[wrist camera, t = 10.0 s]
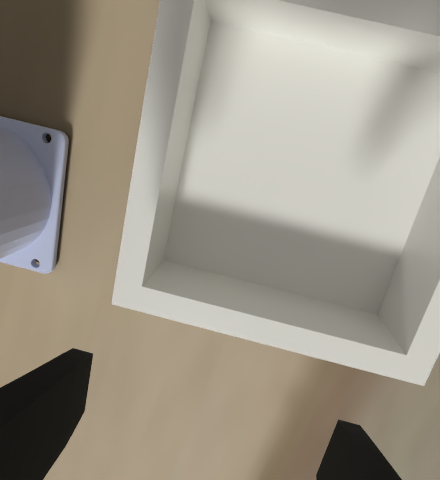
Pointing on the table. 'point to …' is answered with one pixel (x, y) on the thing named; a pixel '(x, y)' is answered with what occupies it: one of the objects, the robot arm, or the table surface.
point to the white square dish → (292, 178)
